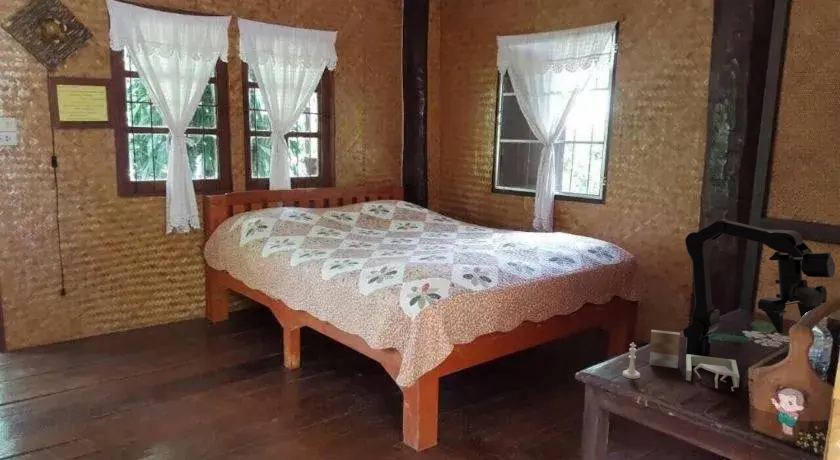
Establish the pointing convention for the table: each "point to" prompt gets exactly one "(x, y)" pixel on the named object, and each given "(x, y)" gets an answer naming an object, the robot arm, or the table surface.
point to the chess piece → (631, 365)
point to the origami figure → (718, 370)
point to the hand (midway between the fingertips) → (793, 331)
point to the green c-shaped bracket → (696, 360)
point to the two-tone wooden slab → (664, 348)
